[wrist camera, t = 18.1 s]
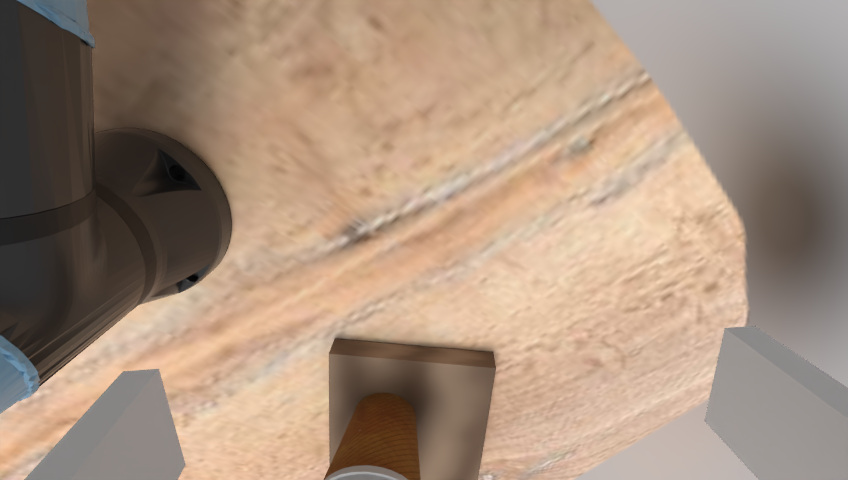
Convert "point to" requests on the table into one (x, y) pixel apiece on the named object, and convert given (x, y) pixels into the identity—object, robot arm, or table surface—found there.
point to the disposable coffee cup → (378, 442)
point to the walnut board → (419, 398)
